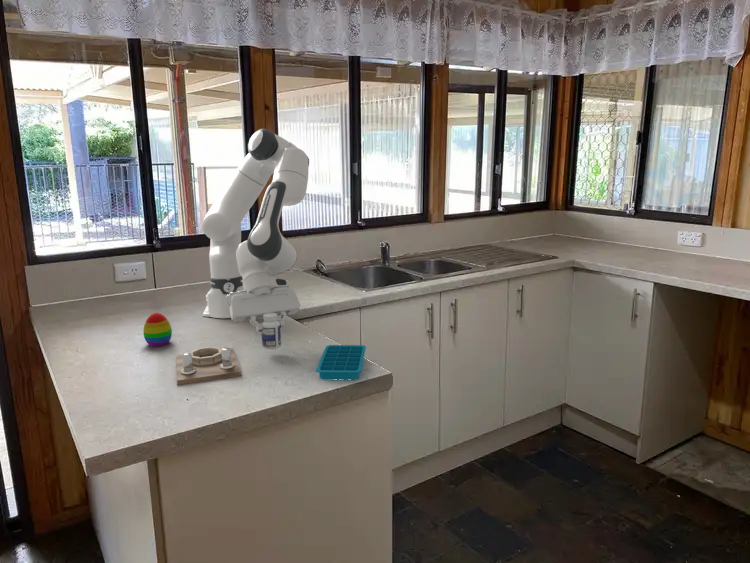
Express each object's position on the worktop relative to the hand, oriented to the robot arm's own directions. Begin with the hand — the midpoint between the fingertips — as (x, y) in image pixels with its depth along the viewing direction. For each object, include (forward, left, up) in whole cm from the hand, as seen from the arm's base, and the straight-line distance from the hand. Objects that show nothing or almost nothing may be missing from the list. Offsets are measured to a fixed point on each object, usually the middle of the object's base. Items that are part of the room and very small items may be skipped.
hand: (271, 329), depth 160 cm
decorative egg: (-25, -32, -8) cm, 41 cm away
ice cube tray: (+15, +16, -9) cm, 24 cm away
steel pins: (+6, -19, -7) cm, 21 cm away
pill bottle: (-1, 0, -6) cm, 6 cm away
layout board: (+1, -19, -8) cm, 20 cm away
